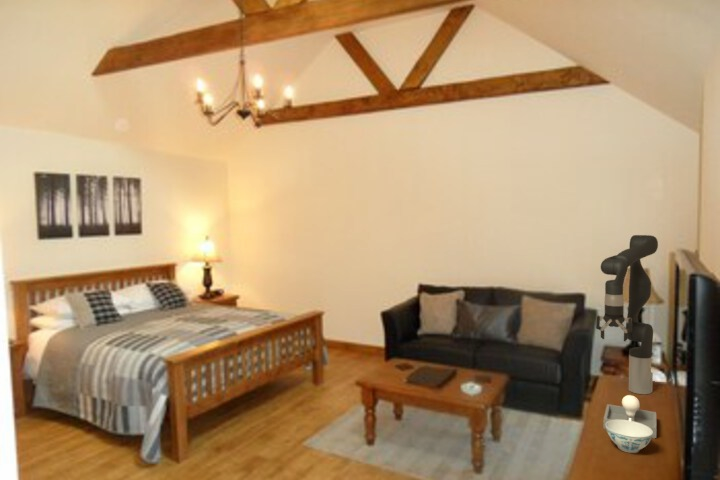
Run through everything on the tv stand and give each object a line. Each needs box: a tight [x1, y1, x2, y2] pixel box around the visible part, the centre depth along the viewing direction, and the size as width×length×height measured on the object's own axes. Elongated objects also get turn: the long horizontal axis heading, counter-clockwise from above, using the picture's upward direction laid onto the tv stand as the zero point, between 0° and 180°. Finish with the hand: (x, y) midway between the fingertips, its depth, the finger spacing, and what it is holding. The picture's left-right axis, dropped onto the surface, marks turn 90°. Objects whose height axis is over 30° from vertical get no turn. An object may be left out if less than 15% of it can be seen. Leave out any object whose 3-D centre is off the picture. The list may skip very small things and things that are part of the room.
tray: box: [602, 403, 657, 439], centre depth 198 cm, size 18×18×4 cm
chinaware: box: [605, 420, 653, 454], centre depth 178 cm, size 15×15×8 cm
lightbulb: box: [621, 394, 641, 421], centre depth 198 cm, size 6×6×11 cm
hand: (613, 339), depth 220 cm, fingers open, 8 cm apart
